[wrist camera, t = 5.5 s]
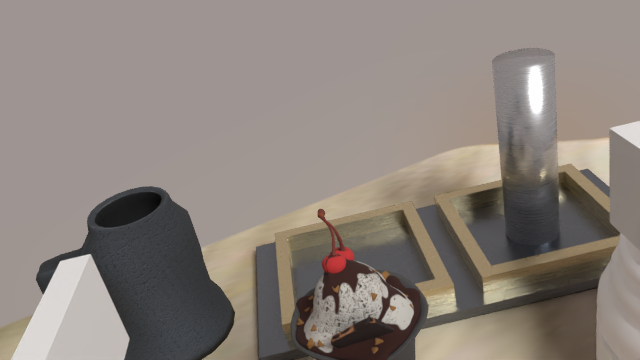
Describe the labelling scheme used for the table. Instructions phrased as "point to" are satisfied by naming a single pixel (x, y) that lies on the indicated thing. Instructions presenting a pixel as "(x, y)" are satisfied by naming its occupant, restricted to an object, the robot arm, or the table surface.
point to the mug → (153, 276)
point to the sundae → (358, 311)
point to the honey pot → (619, 305)
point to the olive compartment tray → (466, 226)
